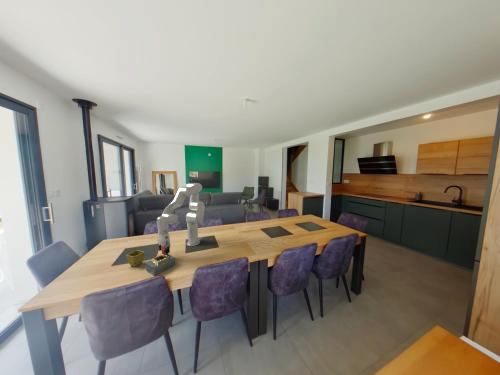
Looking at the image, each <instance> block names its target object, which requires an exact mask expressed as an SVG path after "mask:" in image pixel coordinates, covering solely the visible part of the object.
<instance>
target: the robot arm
mask: <svg viewBox="0 0 500 375" xmlns="http://www.w3.org/2000/svg"><path fill="white" fill-rule="evenodd" d="M202 190H203V185H202V184H201V183H199V182H188V183H186V184H185V186H180V187H179V188H178V189H177V192H176V194H175V196H174V198H173V200H172V202H170V203H169V204H168V205H167V206H165V208H164V210H163V212H162V214H161V216H158V217H157V218H156V223H157V225H156V226H157V244H158V251H159V252H162V250H161V245H162V246H165V248H166V249H165V251H166V254H170V253H171V245H172V244H171V240H170V239H171V238H170V233H169V225H171V224H175V223H176V222H178V220H179V216H178V215H177V214H172V213H173V211H174V210H175V209H178V208H179V207H182V206H183V204H184V202H185V199H186V198H187V197H189V202H188V208H189V210H190V211H188V212H187V214H186V215H185V220H186V224H187V226H186V227H187V241H186V246H189V247H195V246H197V245H199V244H200V243H201V240H202V239H203V236H199V231H198V230H199V229H198V228H199V227H198V226H199V225H198V224H200V223H202V222H203V221H204V217H205V210H206V209H205V208H206V207H205V203H204V202H203V201H200V195H199V193H200V192H201V191H202ZM194 211H195V212H194ZM166 246H168V247H166Z"/></svg>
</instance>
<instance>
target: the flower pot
mask: <svg viewBox="0 0 500 375" xmlns="http://www.w3.org/2000/svg"><path fill="white" fill-rule="evenodd" d="M125 256H126V261H127V263H128V264H129V265H130V266H132V267H137V266H140V265H141V264H142V263H143V261H144V260H145V259H144V258H145V251H142V250H134V251H132V252H130V253H127V254H126V255H125Z"/></svg>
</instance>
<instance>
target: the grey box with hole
mask: <svg viewBox="0 0 500 375" xmlns="http://www.w3.org/2000/svg"><path fill="white" fill-rule="evenodd" d="M144 264H145V265H144V267H145V268H144V269H145V271H146V272H147V273H149V274H151V275H152V276H157V275H158V274H161V273H162V272H164V271H166V270H168V269H170V268H172V267H174V266H176V256H173V255H171V254H170V253H168V254H162V253H161V254H160V255H157V256H155V257H153V258H151V259H150V260H147V261H145V262H144Z"/></svg>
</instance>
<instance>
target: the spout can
mask: <svg viewBox="0 0 500 375" xmlns="http://www.w3.org/2000/svg"><path fill="white" fill-rule="evenodd" d="M166 247H168V246H166ZM165 249H166V248H165V246H162V245H161V255H162V254H166V251H165Z"/></svg>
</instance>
